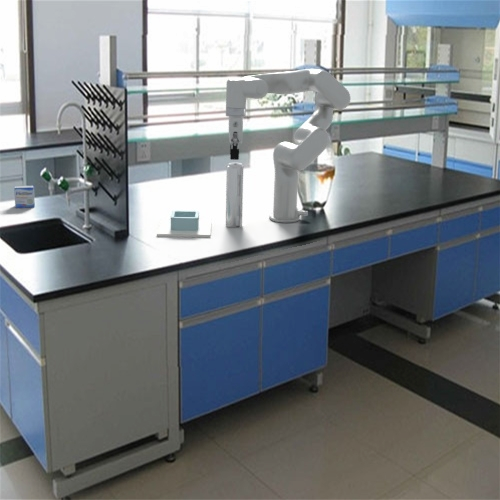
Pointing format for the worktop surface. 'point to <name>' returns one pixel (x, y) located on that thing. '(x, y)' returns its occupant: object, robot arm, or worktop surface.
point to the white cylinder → (234, 195)
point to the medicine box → (24, 196)
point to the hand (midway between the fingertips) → (234, 157)
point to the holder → (184, 225)
